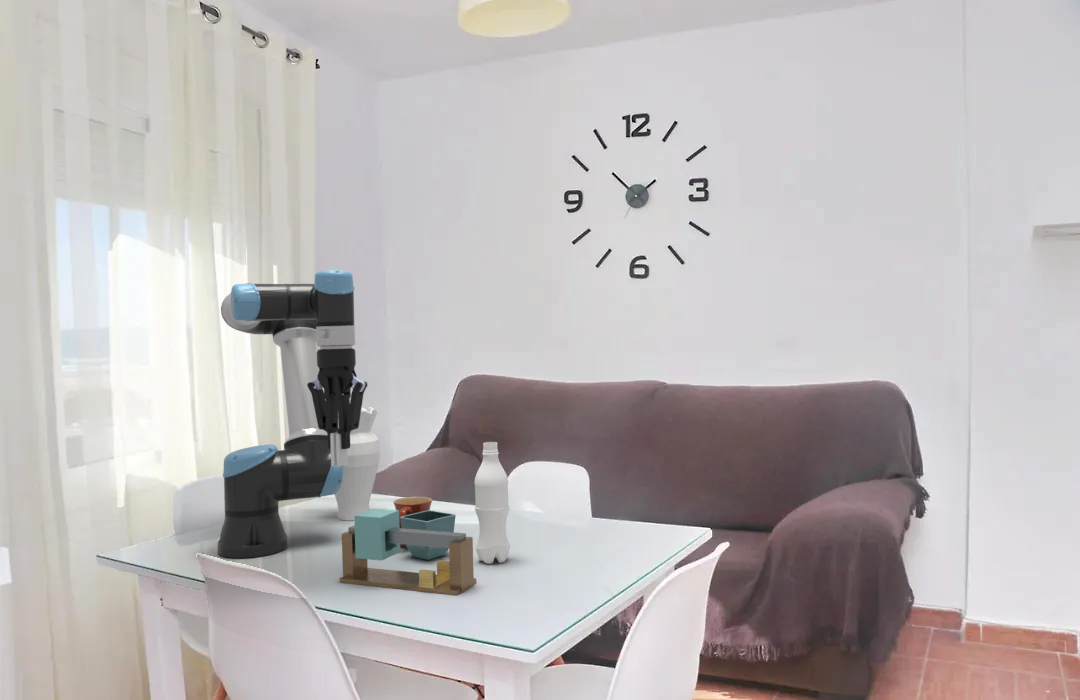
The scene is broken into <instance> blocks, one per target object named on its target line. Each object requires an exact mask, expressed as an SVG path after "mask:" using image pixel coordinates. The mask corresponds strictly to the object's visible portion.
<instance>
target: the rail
mask: <svg viewBox="0 0 1080 700" xmlns="http://www.w3.org/2000/svg"><path fill="white" fill-rule="evenodd" d="M473 538H474V537H472V536H467V533H466V532H455V531H454V532H442V531H429V530H416V529H403V528H392V529H390V530H387V531H385V543H395V544H406V545H418V546H430V547H442V548H449V549H448V557H449V560H445V559H438V560H437V561H436V570H432V569H422V568H421V569H420V570H418V572H413V571H404V570H395V569H394V570H393V569H392V570H391V569H385V568H374V567H373V568H372V567H368V566H369V565H368V559H360V558H356V552H355V524H354V525H352V526H348V529H347V531H345V532H343V533H341V555H342V556H341V557H342V576H341V577H339V579H338V580H339V581H338V582H339V583H342V584H350V585H359V586H370V587H378V588H379V587H380V588H388V589H396V590H406V591H416V592H423V593H435V594H441V595H442V594H443V595H450V596H458V595H460V594H461V593H464V592H465V591H467V590H468V589H470V588H472V587H473V586H474V585H476V584H477V577H476V578H475V577H474V571H475V570H474V543H473Z"/></svg>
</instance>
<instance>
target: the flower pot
mask: <svg viewBox="0 0 1080 700" xmlns="http://www.w3.org/2000/svg"><path fill="white" fill-rule="evenodd" d="M400 520H401V526H402V528H403V529H416V530H429V531H442V532H455V525H456V524H455V523H456V514H454V513H449V512H443V511H437V510H431V509H430V510H428V511H423V512H419V513H415V514H410V515H406V516H402V517H400ZM406 546H407V548H406V549H407V550H408V552H409V553H410V554H411V556H412V557H414V558H418V559H423V560H427V561H429V560H432V559H435V558H439V557H443V556H446V554H447V552H448V551H449V548H442V547H430V546H418V545H406Z"/></svg>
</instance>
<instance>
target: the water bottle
mask: <svg viewBox="0 0 1080 700" xmlns="http://www.w3.org/2000/svg"><path fill="white" fill-rule="evenodd" d="M482 446H483V447H482V448H483V449H482V454H481V455H482V462H481V463H480V466H479V467H478V469H477V472H476V475H475V477H474V483H473V484H474V497H475V506H474V511H475V513H476V516H477V519H478V525H479V534H478V538H477V539H478V540H477V543H476V547H475V549H476V550H475V551H476V555H477V558H478V559H479V561H481V562H484V564H489V565H490V564H491V565H492V564H493V563H494V560H495V559H496V560H497V562H498V563H500V564H502V563H504V562H505V561H507V559H508V556H509V554H510V549H511V544H510V543H509V539H508V537H507V531H506V530H507V529H506V526H507V525H506V524H507V518H508V514H509V511H510V505H509V478H508V475H507V473H506V471H505V470H504V468H503V466H502V463H501V462H500V459H499V454H500V452H499V450H498V442H497V441H486V442H483V444H482Z"/></svg>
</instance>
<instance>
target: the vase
mask: <svg viewBox="0 0 1080 700" xmlns="http://www.w3.org/2000/svg"><path fill="white" fill-rule="evenodd" d="M377 413H378V411H377V410H376V409H375V408H373V406H372V407H371V406H369V407H368V408H364V407H362V408H361V414H360V421H359V427H358V428H357V429H354V430H352V431H351V432H350V448H348V464H347V465H344V470H343V478H342V483H341V486H340V489H339V490H338V492H337V493H335V494H334V496H335V500H336V503H337V504H336V505H337V509H338V511H337V513H338V516H337V517H338V519H339V520H340V521H345V522H346V521H347V522H351V521H352V522H355V519H354V516H355V515H358V514H361V513H363V512H366V511H369V510H370V501H371V496H372V493H373V488H374V485H375V481H376V477H377V471H378V468H379V465H380V458H381V457H380V456H381V455H380V453H381V447H380V439H379V438H378V436H377V434H375V433H374V432H373V431H372V427H373V424H374V421H375V419H376V416H377ZM338 428H339V420H338Z"/></svg>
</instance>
